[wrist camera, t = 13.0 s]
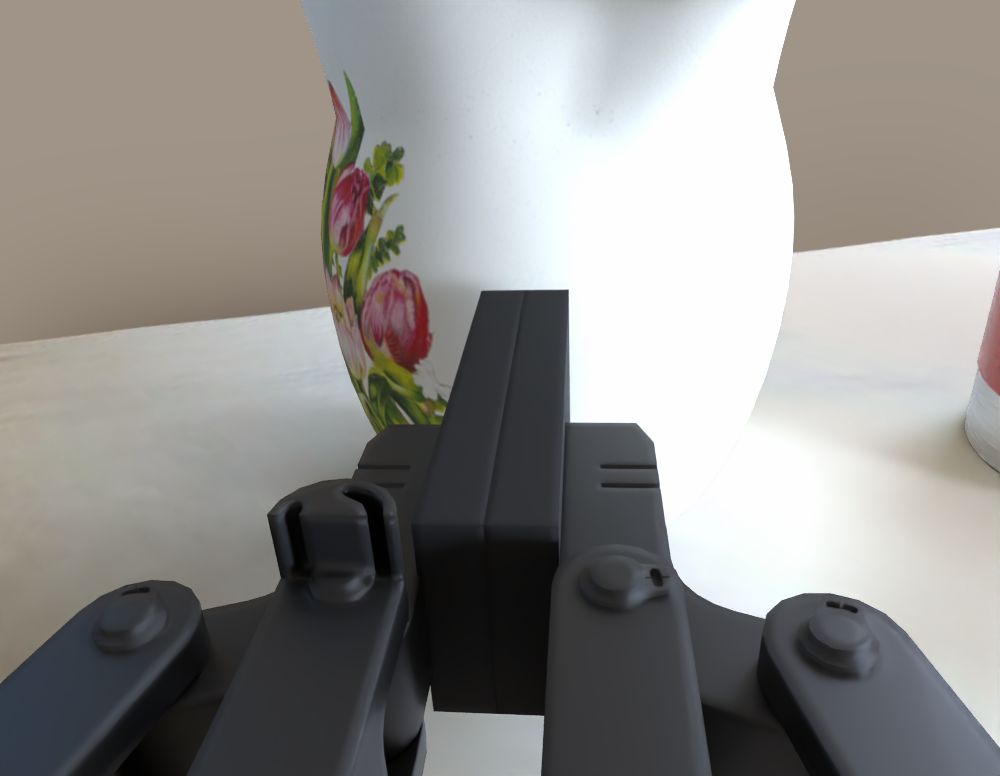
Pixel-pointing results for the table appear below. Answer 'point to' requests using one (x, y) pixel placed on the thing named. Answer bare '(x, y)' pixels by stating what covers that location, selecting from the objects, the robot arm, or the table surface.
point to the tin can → (987, 392)
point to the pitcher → (562, 202)
